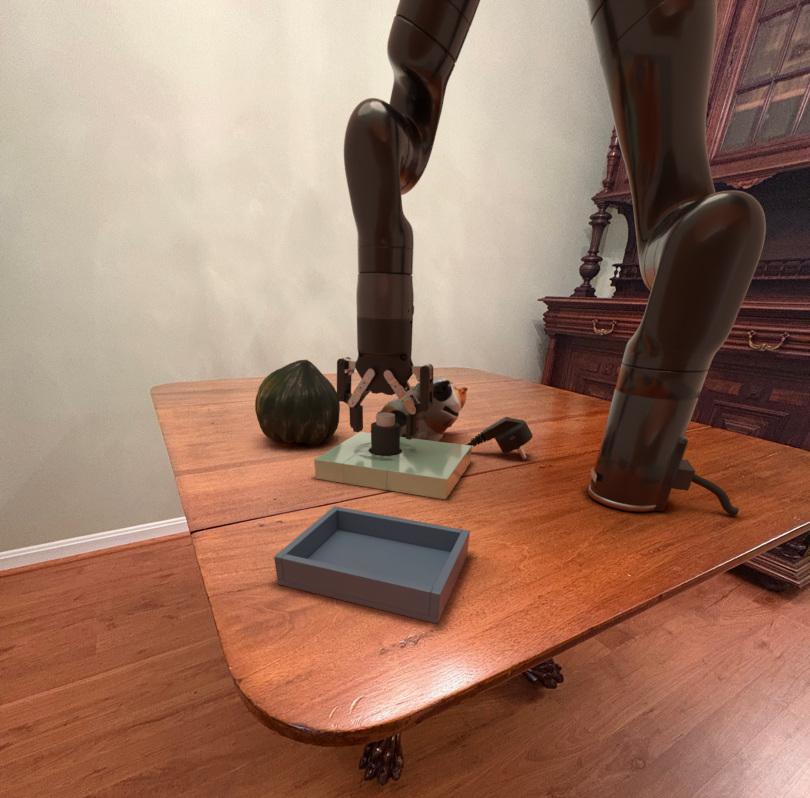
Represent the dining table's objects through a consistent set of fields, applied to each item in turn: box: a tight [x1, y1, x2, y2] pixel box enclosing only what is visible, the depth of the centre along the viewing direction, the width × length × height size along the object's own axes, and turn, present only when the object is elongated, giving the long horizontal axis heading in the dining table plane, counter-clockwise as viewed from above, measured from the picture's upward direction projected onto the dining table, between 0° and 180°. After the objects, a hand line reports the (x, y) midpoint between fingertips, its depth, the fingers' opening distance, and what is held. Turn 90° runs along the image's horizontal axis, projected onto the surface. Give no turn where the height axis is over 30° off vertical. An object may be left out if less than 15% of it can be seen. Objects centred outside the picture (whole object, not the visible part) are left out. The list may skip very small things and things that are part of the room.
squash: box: [254, 359, 341, 446], centre depth 76 cm, size 14×15×15 cm
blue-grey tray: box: [273, 505, 471, 624], centre depth 42 cm, size 16×12×3 cm
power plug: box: [465, 416, 534, 461], centre depth 74 cm, size 6×8×12 cm
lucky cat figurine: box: [376, 377, 468, 442], centre depth 80 cm, size 15×12×14 cm
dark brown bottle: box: [370, 412, 400, 456], centre depth 65 cm, size 4×4×8 cm
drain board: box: [313, 431, 473, 500], centre depth 66 cm, size 20×16×3 cm
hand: (383, 434), depth 65 cm, fingers open, 8 cm apart
